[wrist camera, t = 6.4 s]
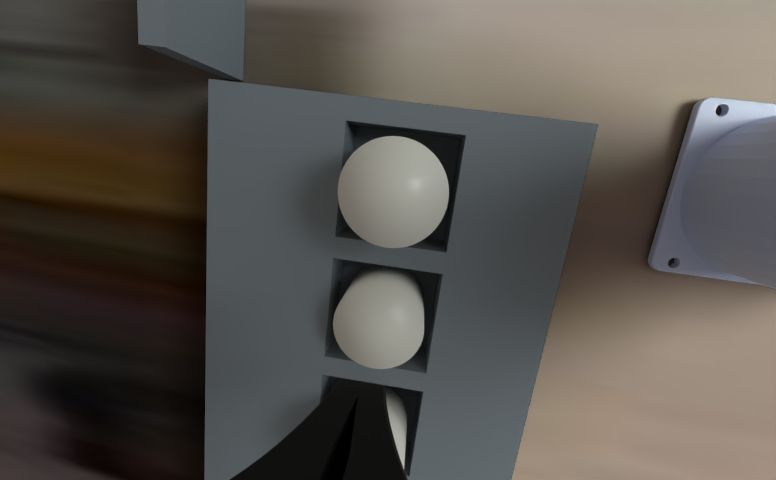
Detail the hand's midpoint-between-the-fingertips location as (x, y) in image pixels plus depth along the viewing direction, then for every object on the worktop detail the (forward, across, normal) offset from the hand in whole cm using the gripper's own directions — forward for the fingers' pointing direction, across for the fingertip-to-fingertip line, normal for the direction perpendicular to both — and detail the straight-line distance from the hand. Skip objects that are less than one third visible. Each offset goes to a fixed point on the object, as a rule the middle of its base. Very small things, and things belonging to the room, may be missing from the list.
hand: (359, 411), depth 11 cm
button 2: (+9, 0, 0) cm, 9 cm away
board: (+9, +1, +3) cm, 10 cm away
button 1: (+7, 0, -6) cm, 9 cm away
